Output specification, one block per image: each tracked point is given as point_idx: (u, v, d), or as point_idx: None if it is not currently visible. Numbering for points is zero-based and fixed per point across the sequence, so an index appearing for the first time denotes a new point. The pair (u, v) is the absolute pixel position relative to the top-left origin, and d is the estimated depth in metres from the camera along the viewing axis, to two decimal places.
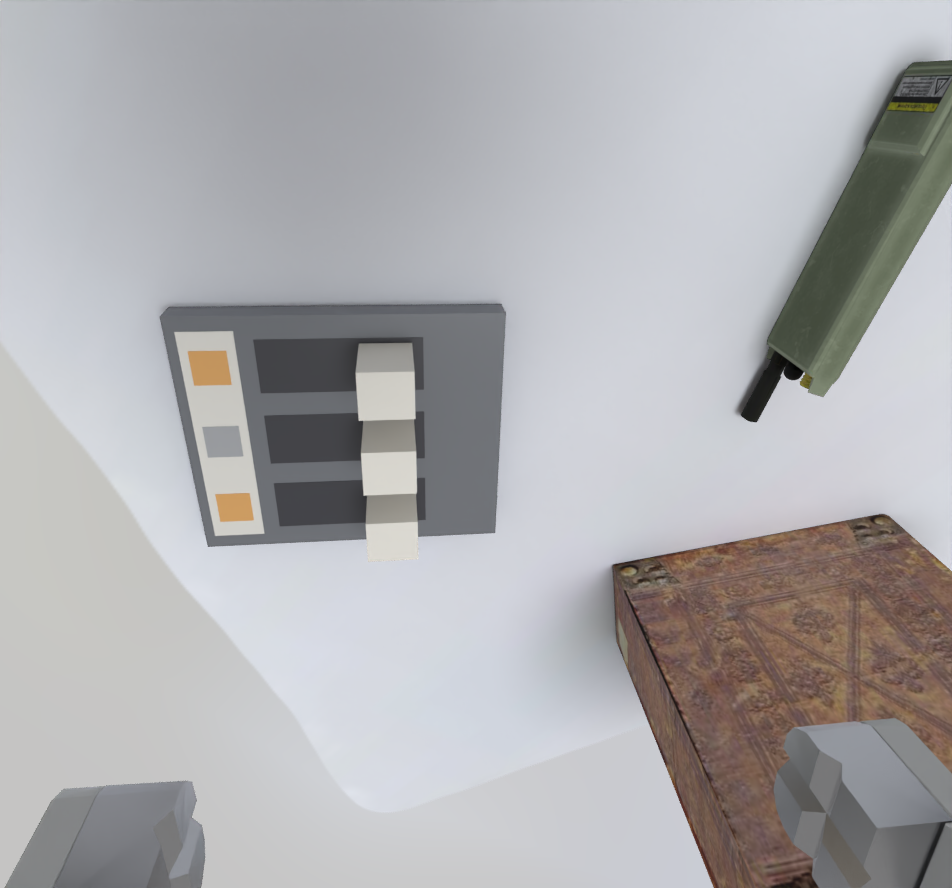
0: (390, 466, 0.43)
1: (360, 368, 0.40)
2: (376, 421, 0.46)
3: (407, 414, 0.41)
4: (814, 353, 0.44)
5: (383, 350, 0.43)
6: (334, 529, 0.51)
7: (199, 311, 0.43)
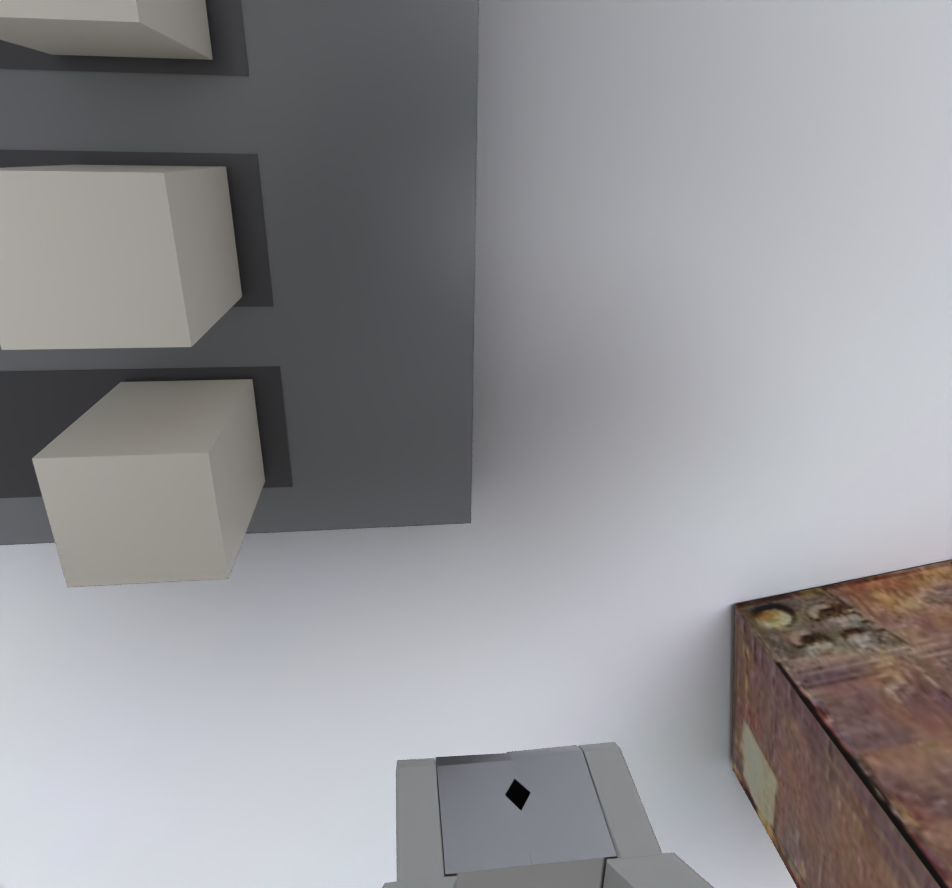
0: (77, 232, 0.12)
1: None
2: (106, 165, 0.16)
3: None
4: None
5: None
6: None
7: None
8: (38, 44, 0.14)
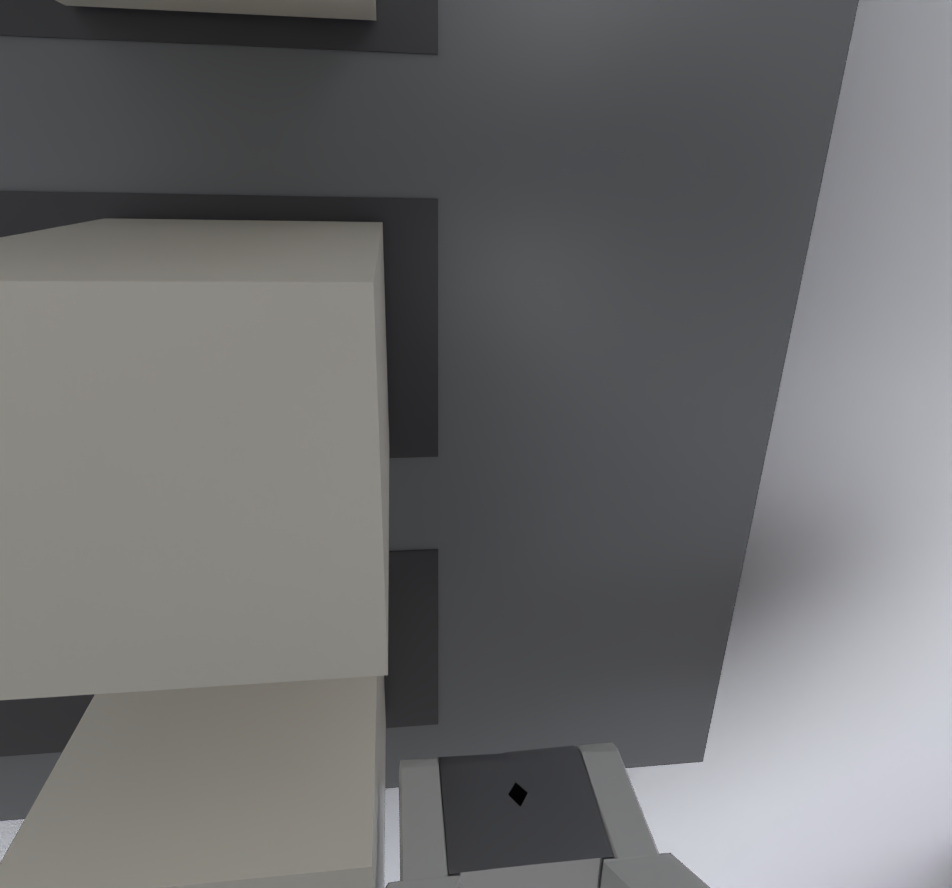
0: (128, 438, 0.04)
1: None
2: (165, 223, 0.08)
3: None
4: None
5: None
6: None
7: None
8: None
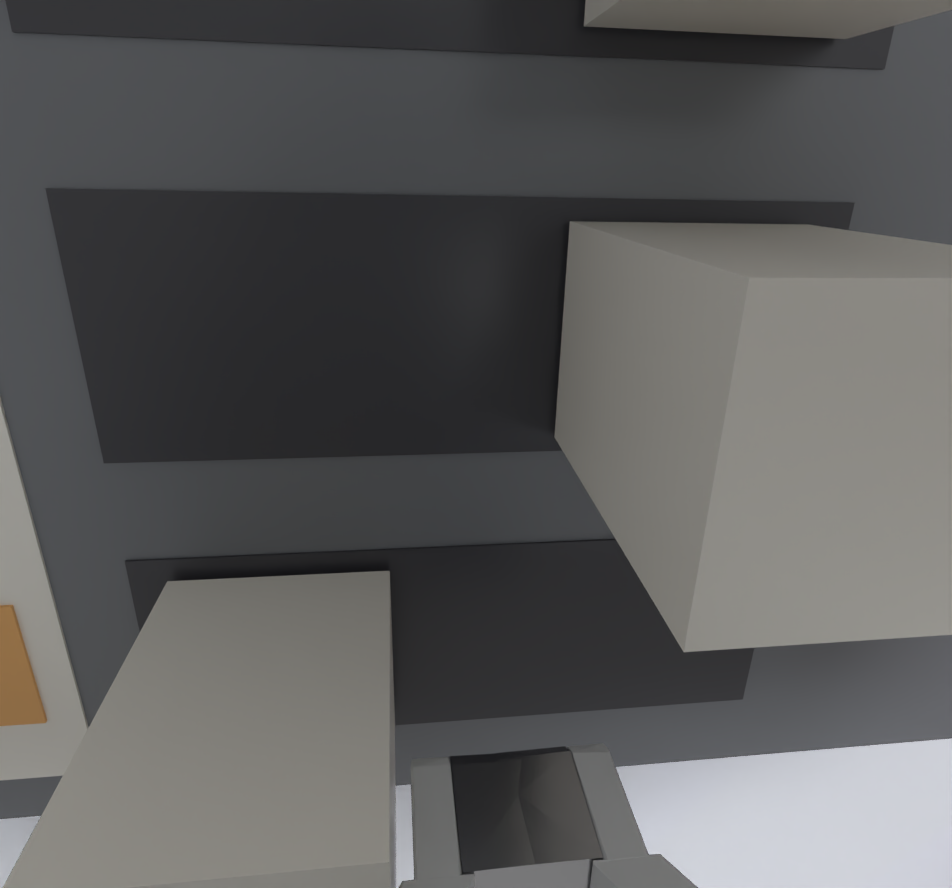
0: (947, 414, 0.05)
1: None
2: (648, 225, 0.09)
3: None
4: None
5: None
6: None
7: None
8: None
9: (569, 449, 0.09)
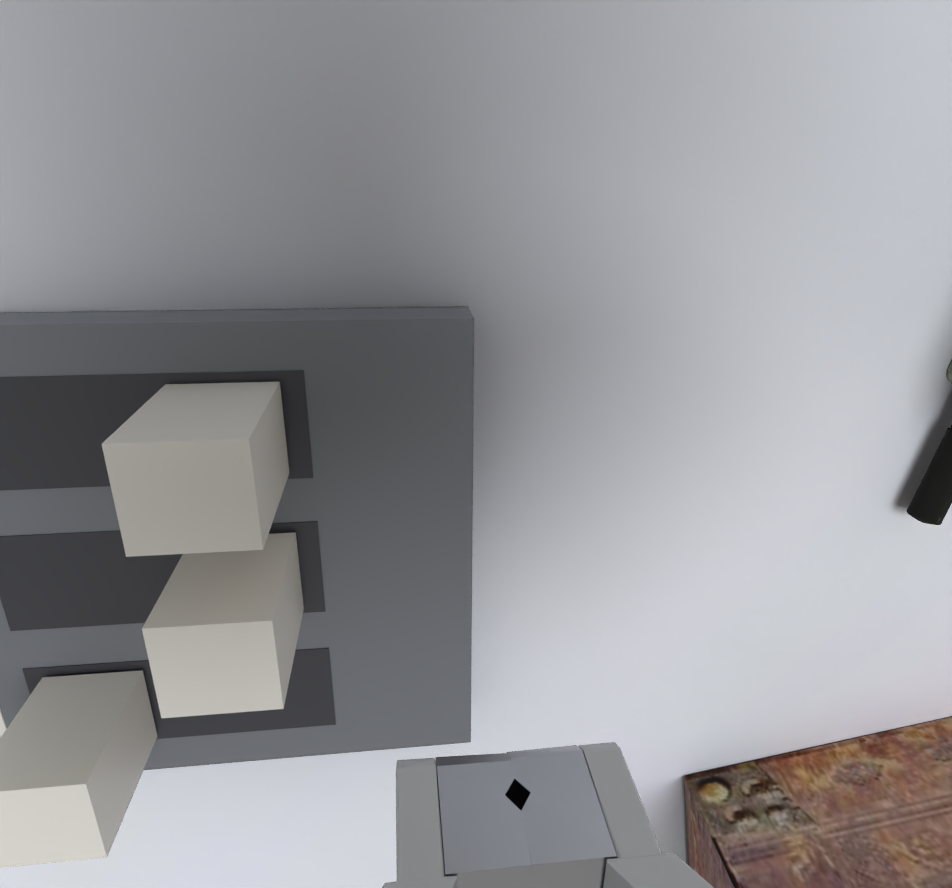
0: (215, 654, 0.19)
1: (121, 434, 0.17)
2: None
3: (242, 539, 0.18)
4: None
5: (207, 396, 0.20)
6: (158, 748, 0.26)
7: None
8: None
9: None
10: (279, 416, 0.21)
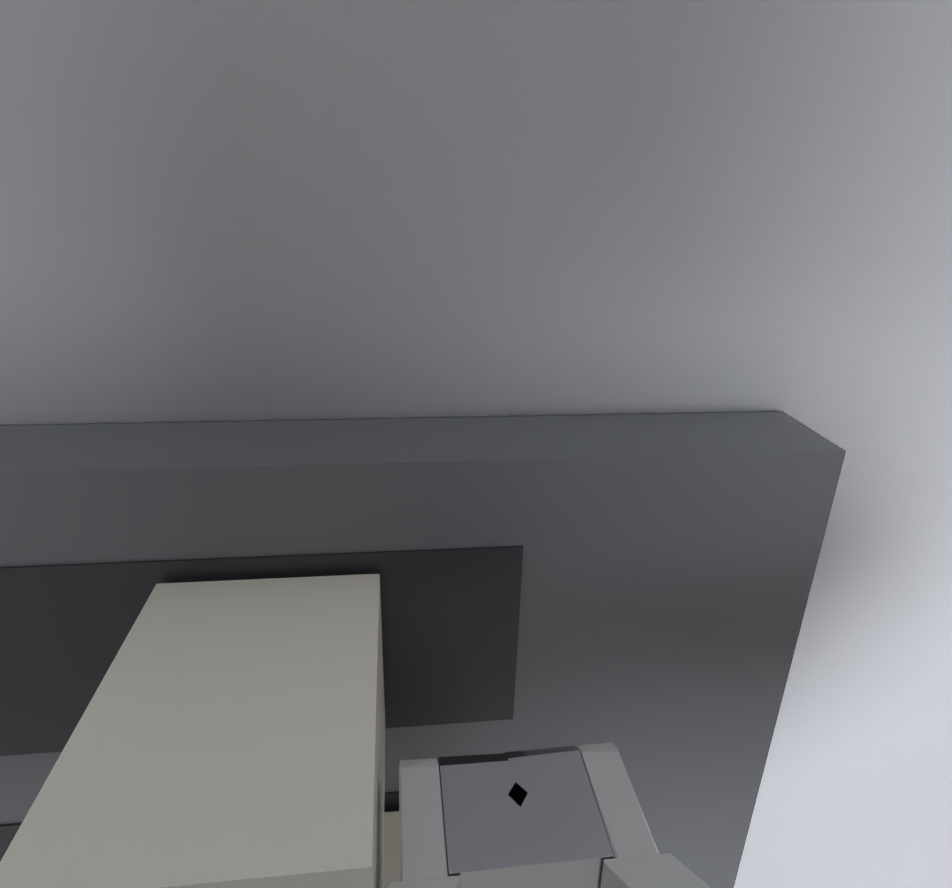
0: None
1: (39, 840, 0.07)
2: None
3: None
4: None
5: (244, 633, 0.09)
6: None
7: None
8: None
9: None
10: (381, 647, 0.11)
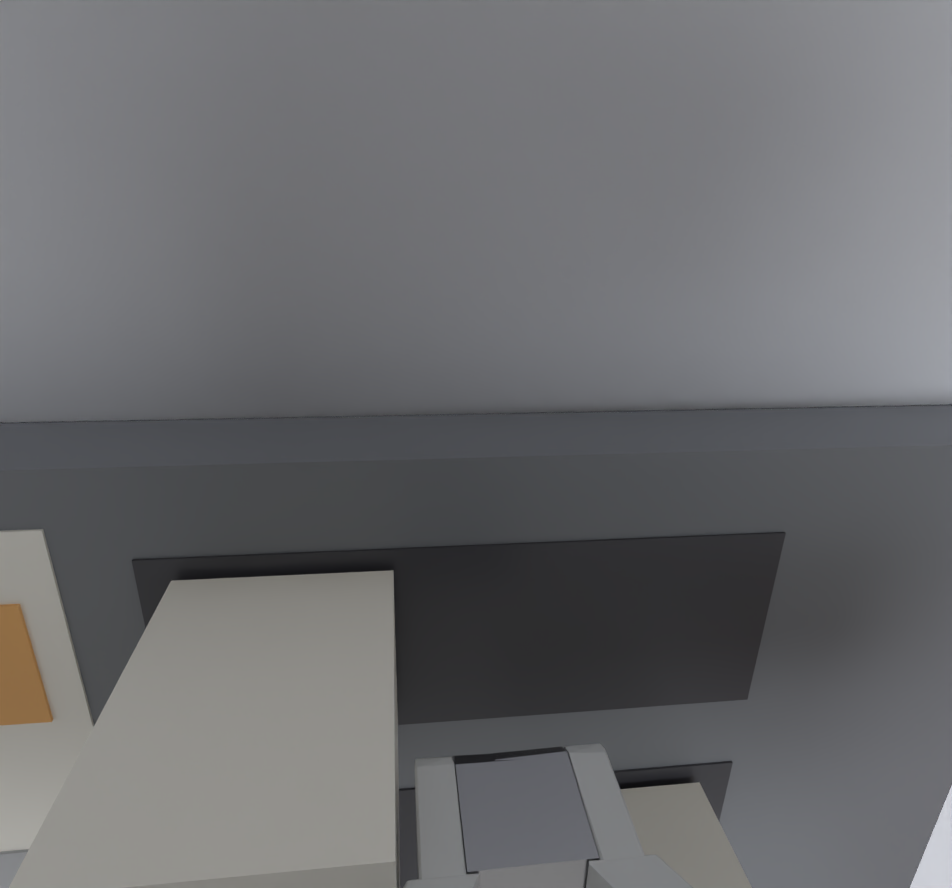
0: None
1: (63, 834, 0.07)
2: None
3: None
4: None
5: (261, 630, 0.09)
6: None
7: None
8: None
9: None
10: None
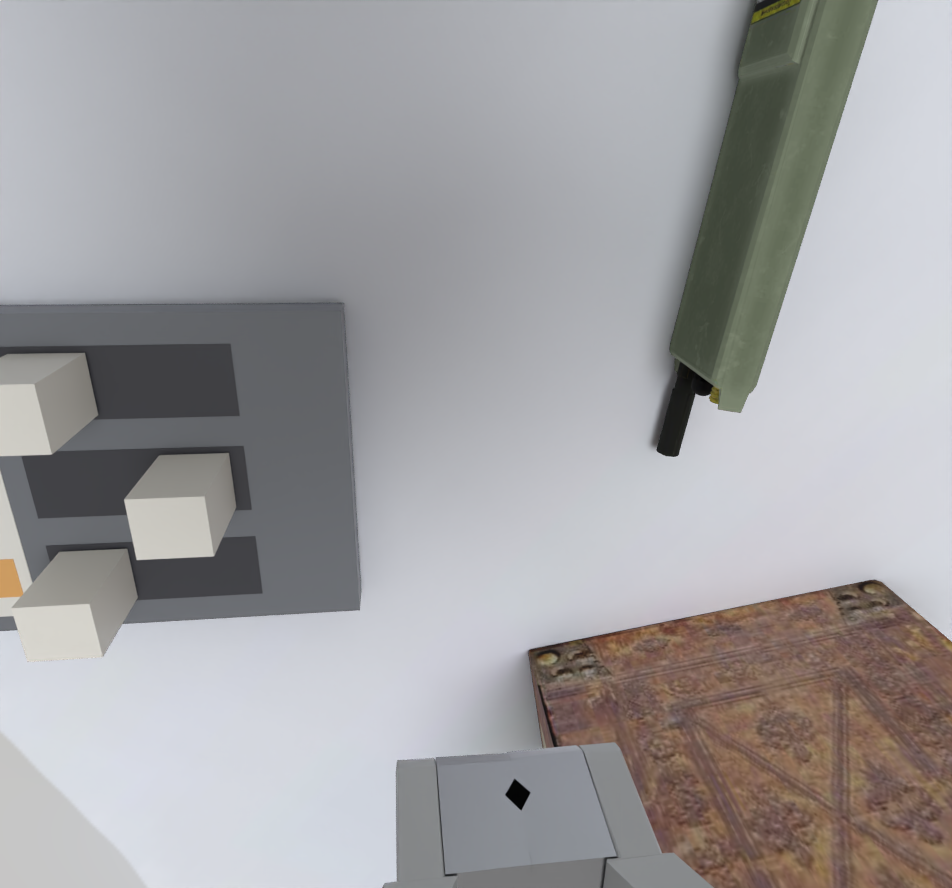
0: (169, 518, 0.31)
1: None
2: (174, 459, 0.34)
3: (37, 447, 0.29)
4: (715, 355, 0.32)
5: (29, 361, 0.31)
6: (138, 607, 0.38)
7: None
8: None
9: None
10: (83, 375, 0.32)
